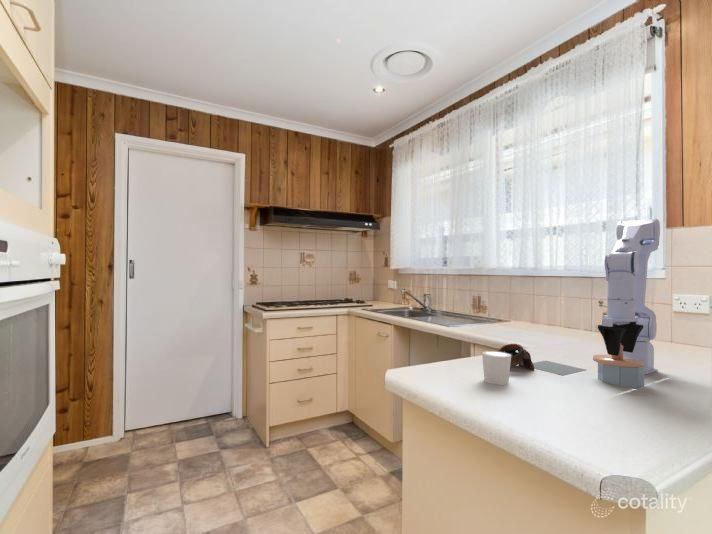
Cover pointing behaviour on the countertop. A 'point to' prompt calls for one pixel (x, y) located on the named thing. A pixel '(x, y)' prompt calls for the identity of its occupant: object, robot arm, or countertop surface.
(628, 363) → the lid
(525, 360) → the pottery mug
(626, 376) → the grey octagonal bowl
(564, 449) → the countertop surface
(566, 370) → the mat
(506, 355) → the white tapered cylinder
